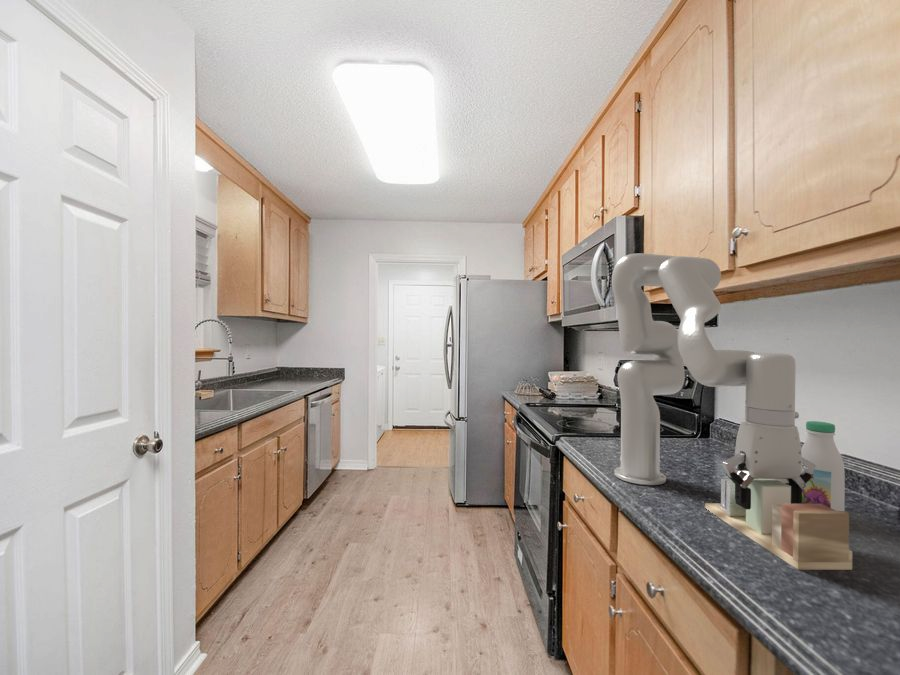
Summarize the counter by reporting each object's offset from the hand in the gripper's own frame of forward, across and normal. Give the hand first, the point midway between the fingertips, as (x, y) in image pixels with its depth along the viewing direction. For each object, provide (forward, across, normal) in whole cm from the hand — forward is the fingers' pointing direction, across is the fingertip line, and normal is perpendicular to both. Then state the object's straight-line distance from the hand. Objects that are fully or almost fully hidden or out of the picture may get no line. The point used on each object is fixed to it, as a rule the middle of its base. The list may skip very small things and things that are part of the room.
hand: (767, 506), depth 79 cm
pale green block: (+4, 0, 0) cm, 4 cm away
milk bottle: (+6, -18, -8) cm, 21 cm away
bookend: (+4, 0, -8) cm, 9 cm away
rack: (+6, 0, 0) cm, 6 cm away
